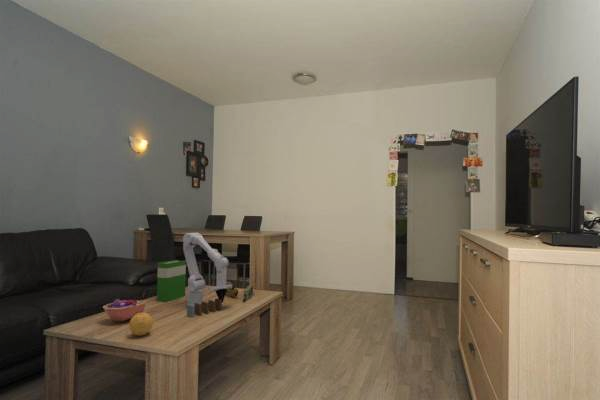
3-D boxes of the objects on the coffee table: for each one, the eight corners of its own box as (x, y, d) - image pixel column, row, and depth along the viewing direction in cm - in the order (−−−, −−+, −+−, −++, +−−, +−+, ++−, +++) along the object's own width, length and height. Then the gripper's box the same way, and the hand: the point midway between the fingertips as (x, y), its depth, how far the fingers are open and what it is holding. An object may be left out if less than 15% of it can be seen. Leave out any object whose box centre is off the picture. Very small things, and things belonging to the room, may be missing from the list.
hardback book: (176, 295, 237) (177, 259, 238) (185, 296, 234) (185, 260, 236) (156, 301, 221) (157, 263, 222) (166, 302, 218) (166, 263, 219)
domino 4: (213, 312, 196) (213, 301, 196) (208, 310, 199) (208, 300, 200) (215, 312, 197) (215, 301, 197) (209, 310, 200) (210, 299, 201)
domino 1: (192, 317, 186) (192, 306, 186) (186, 315, 189) (187, 304, 189) (194, 317, 187) (194, 305, 187) (188, 315, 190) (189, 304, 190)
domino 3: (206, 314, 193) (206, 303, 193) (201, 312, 196) (201, 301, 196) (208, 313, 194) (208, 302, 194) (203, 312, 197) (203, 301, 197)
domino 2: (199, 315, 189) (199, 304, 190) (194, 314, 193) (194, 303, 193) (201, 315, 190) (201, 304, 190) (196, 313, 193) (196, 302, 194)
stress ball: (141, 330, 165) (141, 308, 165) (157, 333, 161) (158, 311, 162) (123, 337, 156) (124, 314, 156) (140, 340, 152) (141, 316, 153)
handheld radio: (253, 294, 243) (246, 302, 218) (249, 294, 244) (241, 303, 219) (253, 284, 244) (245, 292, 219) (248, 284, 244) (240, 292, 219)
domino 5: (220, 310, 200) (220, 300, 200) (214, 309, 203) (214, 298, 203) (221, 310, 200) (221, 299, 201) (216, 308, 204) (216, 298, 204)
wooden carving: (240, 298, 230) (240, 282, 231) (235, 299, 227) (235, 283, 228) (225, 294, 241) (225, 279, 242) (219, 295, 238) (220, 280, 238)
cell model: (150, 320, 181) (150, 298, 182) (107, 328, 168) (107, 304, 169) (139, 313, 194) (140, 292, 195) (99, 320, 181) (99, 297, 182)
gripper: (215, 281, 196) (214, 305, 195) (235, 277, 207) (235, 301, 206) (207, 279, 200) (207, 303, 200) (228, 276, 211) (227, 299, 211)
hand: (221, 302), depth 203 cm, fingers closed
